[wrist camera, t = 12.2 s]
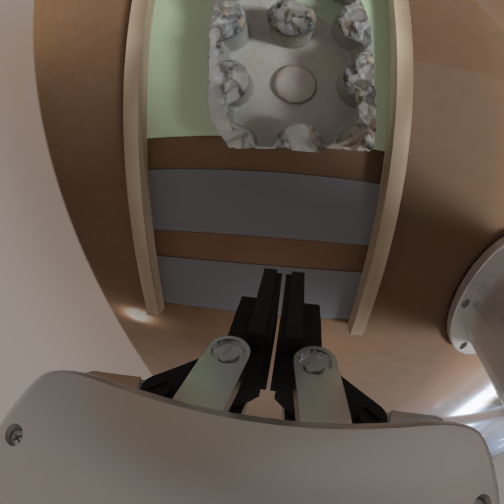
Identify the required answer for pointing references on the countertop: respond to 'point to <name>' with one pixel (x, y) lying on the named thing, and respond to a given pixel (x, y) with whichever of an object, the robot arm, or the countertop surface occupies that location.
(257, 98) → the egg carton
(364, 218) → the strips
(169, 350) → the countertop surface
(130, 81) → the channel
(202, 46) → the pad
